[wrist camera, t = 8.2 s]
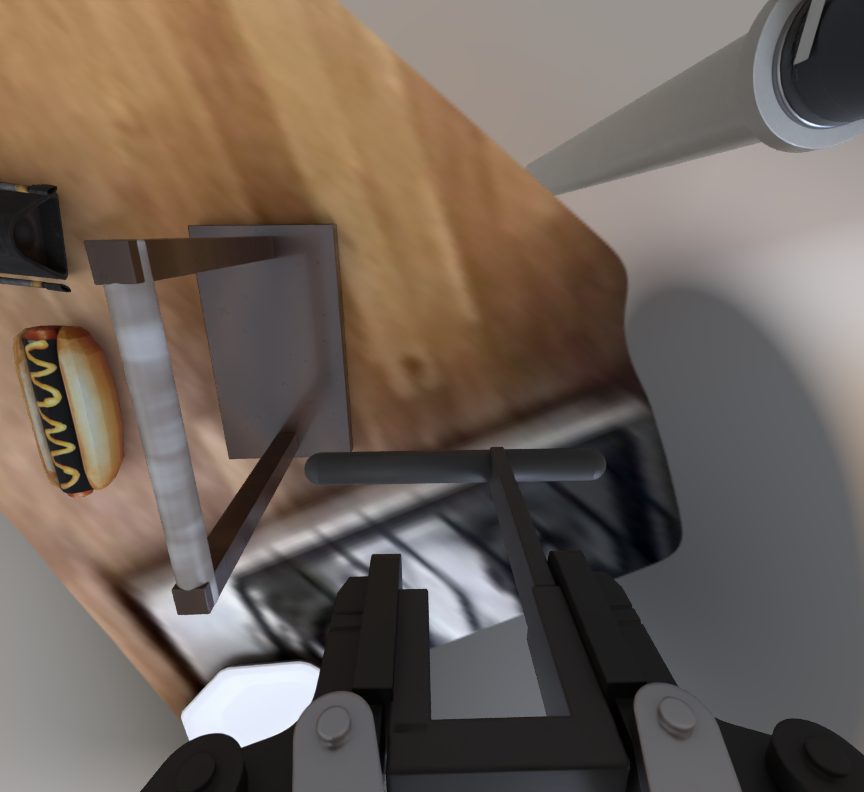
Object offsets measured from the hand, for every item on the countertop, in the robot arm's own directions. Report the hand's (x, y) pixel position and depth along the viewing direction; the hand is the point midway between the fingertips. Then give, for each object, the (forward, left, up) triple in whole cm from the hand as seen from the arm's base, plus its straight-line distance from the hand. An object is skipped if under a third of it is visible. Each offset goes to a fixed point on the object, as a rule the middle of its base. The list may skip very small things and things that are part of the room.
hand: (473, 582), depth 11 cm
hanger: (0, 0, -7) cm, 7 cm away
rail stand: (+12, 0, -27) cm, 29 cm away
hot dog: (+27, +4, -27) cm, 38 cm away
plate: (+16, +42, -27) cm, 52 cm away
